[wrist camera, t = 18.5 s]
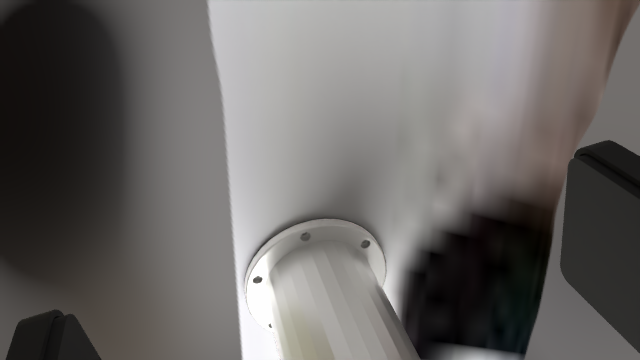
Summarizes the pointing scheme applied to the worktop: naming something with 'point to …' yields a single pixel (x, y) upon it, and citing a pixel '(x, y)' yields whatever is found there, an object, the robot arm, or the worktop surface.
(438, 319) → the worktop surface
